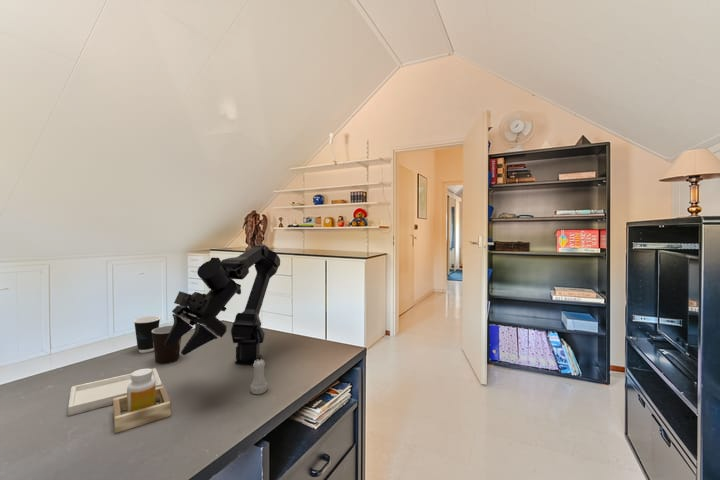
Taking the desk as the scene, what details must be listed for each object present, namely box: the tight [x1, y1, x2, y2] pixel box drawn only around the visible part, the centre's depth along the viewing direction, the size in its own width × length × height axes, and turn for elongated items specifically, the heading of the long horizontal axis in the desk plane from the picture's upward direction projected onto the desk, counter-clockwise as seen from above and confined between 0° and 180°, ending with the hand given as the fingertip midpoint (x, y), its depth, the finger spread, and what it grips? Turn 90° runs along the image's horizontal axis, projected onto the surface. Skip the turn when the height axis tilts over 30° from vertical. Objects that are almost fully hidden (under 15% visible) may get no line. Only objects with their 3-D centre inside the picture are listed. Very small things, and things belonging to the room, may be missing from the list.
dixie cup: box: [132, 315, 161, 354], centre depth 110 cm, size 8×8×11 cm
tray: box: [67, 367, 163, 417], centre depth 81 cm, size 18×12×2 cm, turn 130°
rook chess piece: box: [249, 358, 268, 395], centre depth 84 cm, size 4×4×8 cm
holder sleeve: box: [112, 385, 172, 434], centre depth 72 cm, size 10×10×3 cm
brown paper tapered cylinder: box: [152, 324, 183, 365], centre depth 103 cm, size 12×9×10 cm
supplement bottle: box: [126, 368, 157, 413], centre depth 72 cm, size 5×5×10 cm
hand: (173, 349), depth 77 cm, fingers open, 9 cm apart
